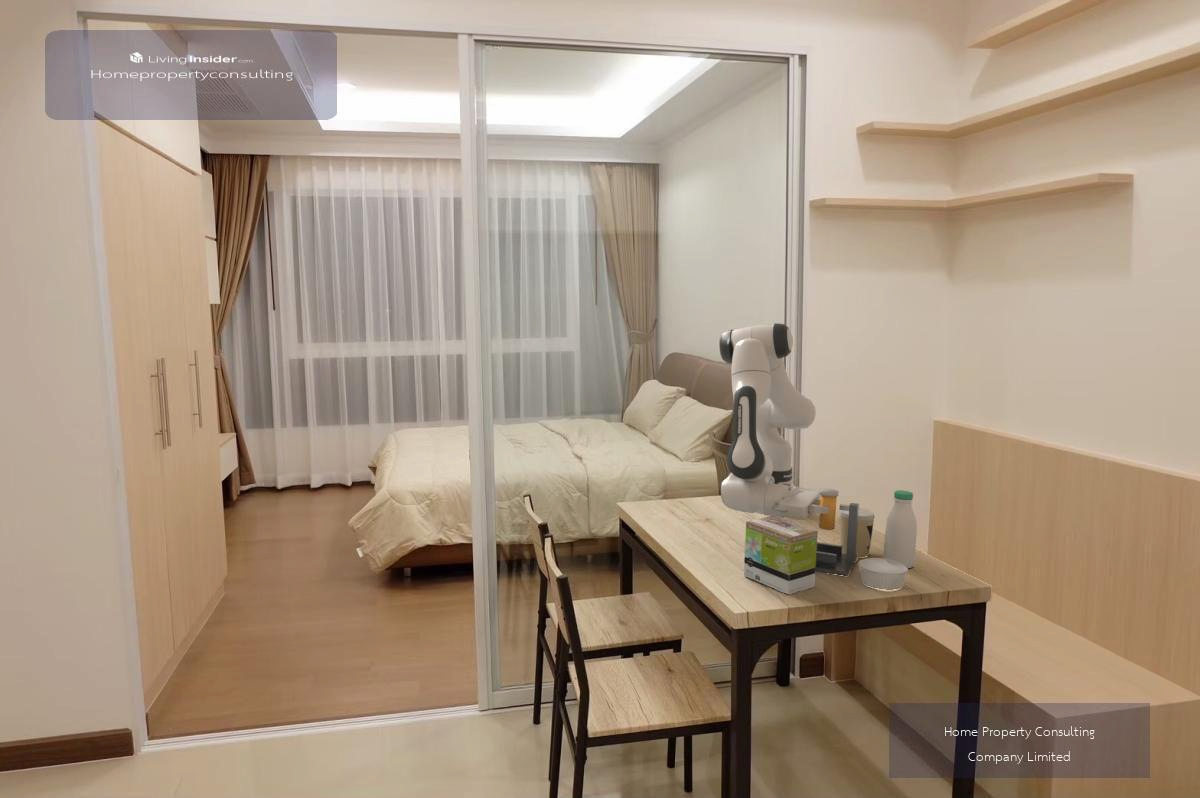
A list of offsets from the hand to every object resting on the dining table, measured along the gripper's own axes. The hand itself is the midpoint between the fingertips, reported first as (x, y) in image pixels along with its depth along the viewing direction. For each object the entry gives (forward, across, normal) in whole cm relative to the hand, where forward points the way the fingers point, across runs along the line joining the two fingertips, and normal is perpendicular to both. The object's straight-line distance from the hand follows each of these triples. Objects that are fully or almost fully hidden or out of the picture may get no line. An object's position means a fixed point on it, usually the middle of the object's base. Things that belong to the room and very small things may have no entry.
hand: (831, 507), depth 203 cm
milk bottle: (+17, +9, +16) cm, 25 cm away
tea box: (-8, -20, +16) cm, 27 cm away
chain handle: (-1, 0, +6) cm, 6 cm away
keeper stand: (+1, 0, +15) cm, 15 cm away
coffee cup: (+5, +13, +16) cm, 21 cm away
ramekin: (+15, -9, +16) cm, 23 cm away
